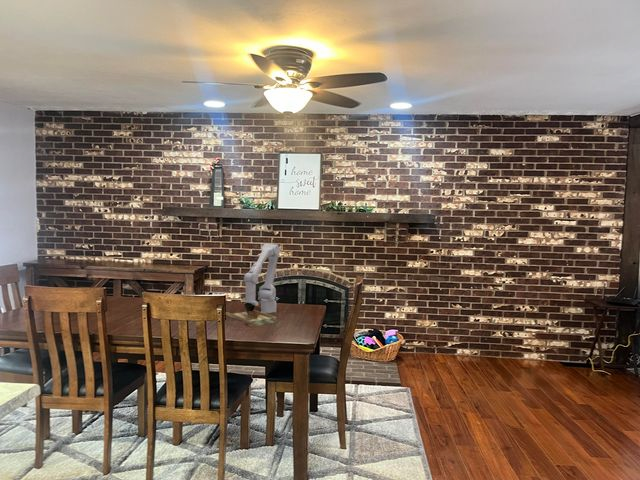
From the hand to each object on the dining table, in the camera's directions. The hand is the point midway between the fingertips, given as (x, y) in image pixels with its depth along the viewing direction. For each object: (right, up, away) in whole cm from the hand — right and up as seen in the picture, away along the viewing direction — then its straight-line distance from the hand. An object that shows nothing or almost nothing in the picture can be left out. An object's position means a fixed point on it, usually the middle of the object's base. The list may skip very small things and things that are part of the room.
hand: (249, 315), depth 262 cm
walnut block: (+2, -1, -3) cm, 4 cm away
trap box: (+1, -2, -1) cm, 2 cm away
